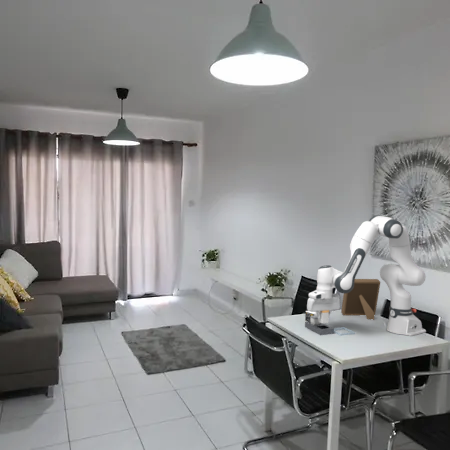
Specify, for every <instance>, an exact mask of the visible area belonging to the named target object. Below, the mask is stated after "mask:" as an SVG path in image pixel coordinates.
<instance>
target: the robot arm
mask: <svg viewBox="0 0 450 450" xmlns="http://www.w3.org/2000/svg"><path fill="white" fill-rule="evenodd" d="M378 236H381V237H386V238H388V247H389V256H390V258H391V259H392V260H393V261H394V262H396V263H397V264H394V263H391V264H389V263H388V264H387V263H385V264H383V265H382V266H381V268H380V269H379V276H380V278H381V280H382V281H383V282H385V284H386V286H387V288H388V291H389V293H390V306H389V315H388V322H387V327H386V331H388V332H390V333H392V334H397V335H405V336H410V337H411V336H416V335H420V334H424V333H426V332H427V330H426V329H425V328H423V325H422V324H423V323H422V321H421V320H420V319H419V318H418V317H417V316H416V315H414V313H417V309H416V308H412V296H411V294H410V292H409V291H408V290H406V289H405V288H404V286H411V287H417V286H418V287H419V286H422V285H424V283H425V282H426V277H427V276H426V273H425V271H424V269H422V268H421V267H420V266H418V264H417V263H416V262H415V261H414V259H413V256H412V250H411V243H410V242H411V240H410V235H409V231H408V229H407V226H405V225H403V224H402V223H401V222H400V221H399V220H397V219H395V218H393V217H390V216H383V215H381V214H378V215H373V216H371V217H370V218H369V220H365V221H363V222H362V223H361V224H360V225H359V227H358V228H357V230H356V231H355V232H354V235H353V236H352V238H351V241H350V244H349V250H350V258H349V261H348V263H347V265H346V267H345V269H344V271H341V270H338V269H336V268H334V267H333V265H321V266H320V267H319V268H318V270H317V275H316V282H317V284H316V285H317V286H316V289H315V290H313V291H311V292H309V293H308V299H307V304H306V310H307V311H310V312H315V311H316V314H317V318H318V319H321V315H320V314H319V313H320V311H327V310H329V317H330V315H331V314H332V311H337V310H340V309H341V299H340V298H341V297H340V294H343V295H344V294H345V293H349V292H350V291H352V289H353V288H354V281H355V279H356V276H357V274H358V272H359V270H360V268H361V267H362V264H363V261H364V259H365V258H366V256H367V254H368V253H369V251H370V249H371V248H372V246H373V244H374V242H375V240H376V238H378ZM334 288H335V289H336V290H337V291H338V292H339V293H340V294H339V293H333V289H334Z"/></svg>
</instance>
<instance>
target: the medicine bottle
mask: <svg viewBox="0 0 450 450" xmlns="http://www.w3.org/2000/svg"><path fill="white" fill-rule="evenodd" d="M315 315H317V314H316V311H315V312H310V311H308V310H305V315H304V317H305V322H310V321H311V316H315Z"/></svg>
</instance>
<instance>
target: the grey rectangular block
mask: <svg viewBox="0 0 450 450" xmlns="http://www.w3.org/2000/svg"><path fill="white" fill-rule="evenodd" d="M311 324H313V325H318V324H320V322H318V318H317V315H315V316H311Z"/></svg>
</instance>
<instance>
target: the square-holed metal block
mask: <svg viewBox="0 0 450 450" xmlns="http://www.w3.org/2000/svg"><path fill="white" fill-rule="evenodd" d="M304 328H306V329H307V330H310V331H311V332H314V333H315V334H317V335H318V336H327V335H334V334H335V333H334V328H335V327H331V326H330V325H328V324H327V323H320V324H318V325H313V324H311V321H310V322H308V321H305V323H304Z"/></svg>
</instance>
